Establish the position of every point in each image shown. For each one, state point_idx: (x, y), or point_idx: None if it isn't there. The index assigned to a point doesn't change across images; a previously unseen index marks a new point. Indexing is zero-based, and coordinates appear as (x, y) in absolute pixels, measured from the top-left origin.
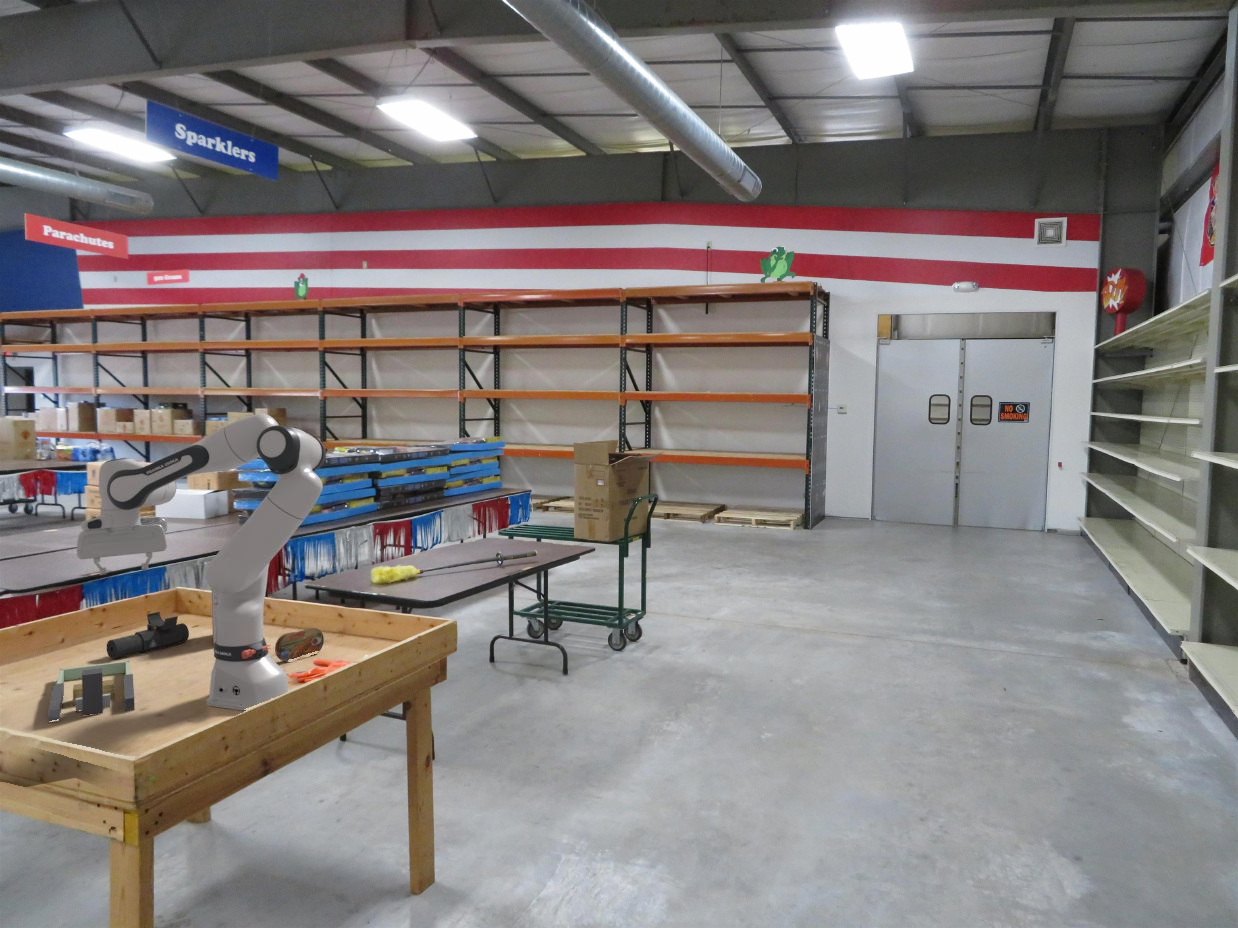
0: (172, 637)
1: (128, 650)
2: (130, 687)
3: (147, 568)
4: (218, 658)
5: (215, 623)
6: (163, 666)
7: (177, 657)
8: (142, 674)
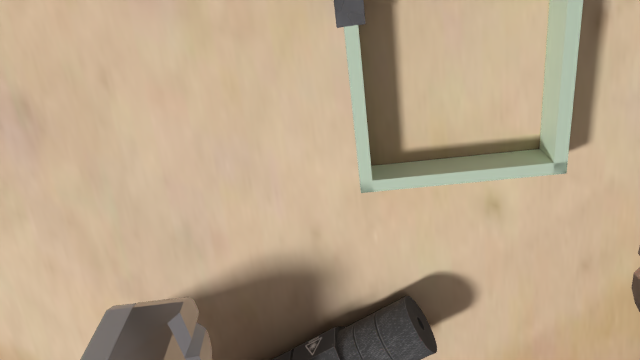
0: None
1: (375, 314)
2: None
3: (117, 310)
4: None
5: None
6: (268, 187)
7: (241, 259)
8: (319, 128)
